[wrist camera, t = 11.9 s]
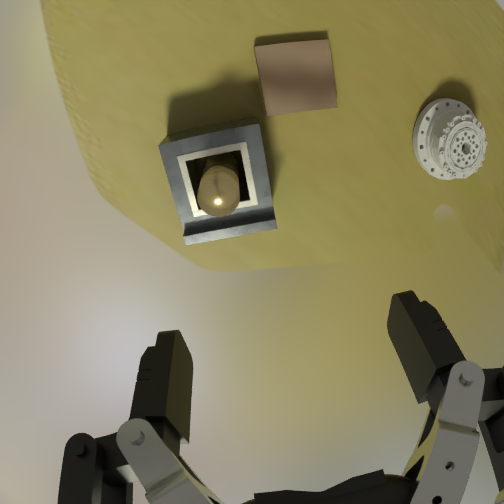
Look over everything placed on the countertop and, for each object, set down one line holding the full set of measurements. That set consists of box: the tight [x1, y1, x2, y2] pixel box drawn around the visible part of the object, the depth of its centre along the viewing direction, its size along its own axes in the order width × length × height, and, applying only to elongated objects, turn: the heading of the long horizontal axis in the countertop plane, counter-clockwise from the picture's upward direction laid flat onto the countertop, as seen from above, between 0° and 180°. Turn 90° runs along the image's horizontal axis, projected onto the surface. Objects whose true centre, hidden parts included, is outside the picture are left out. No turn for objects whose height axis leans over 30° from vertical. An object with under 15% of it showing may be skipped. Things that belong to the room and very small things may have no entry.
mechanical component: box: [413, 98, 488, 180], centre depth 29 cm, size 10×4×10 cm
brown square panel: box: [254, 40, 338, 116], centre depth 27 cm, size 7×7×1 cm
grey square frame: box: [158, 117, 277, 245], centre depth 30 cm, size 10×9×5 cm
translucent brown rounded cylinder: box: [197, 152, 240, 217], centre depth 29 cm, size 3×3×8 cm
